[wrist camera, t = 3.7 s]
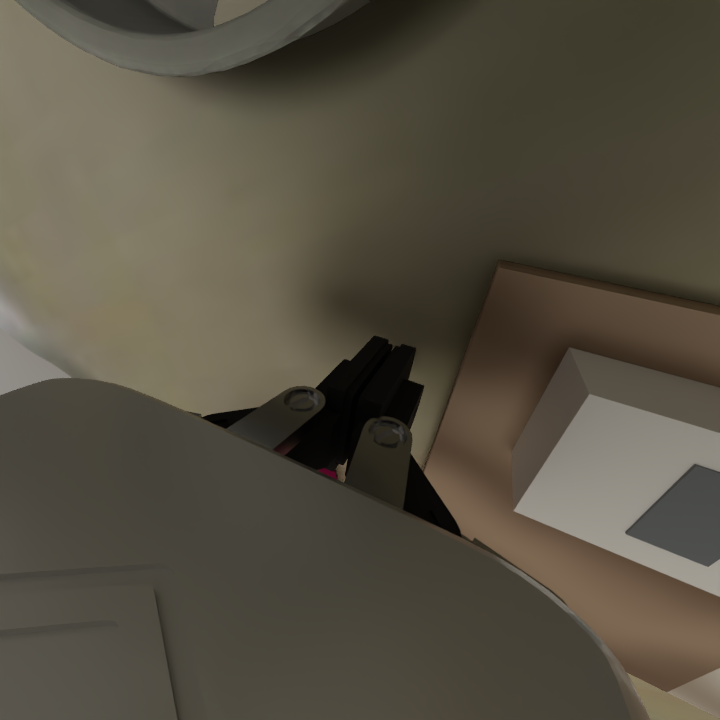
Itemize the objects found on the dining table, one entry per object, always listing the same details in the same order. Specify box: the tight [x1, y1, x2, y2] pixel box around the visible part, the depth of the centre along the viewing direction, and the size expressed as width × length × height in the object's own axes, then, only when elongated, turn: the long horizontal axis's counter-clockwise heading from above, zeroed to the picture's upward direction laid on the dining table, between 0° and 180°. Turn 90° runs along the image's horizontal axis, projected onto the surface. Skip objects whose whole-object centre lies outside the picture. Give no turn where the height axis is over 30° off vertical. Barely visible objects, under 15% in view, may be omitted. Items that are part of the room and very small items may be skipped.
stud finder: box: [512, 347, 720, 597], centre depth 10 cm, size 5×6×3 cm
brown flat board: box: [423, 260, 720, 719], centre depth 12 cm, size 18×22×2 cm
